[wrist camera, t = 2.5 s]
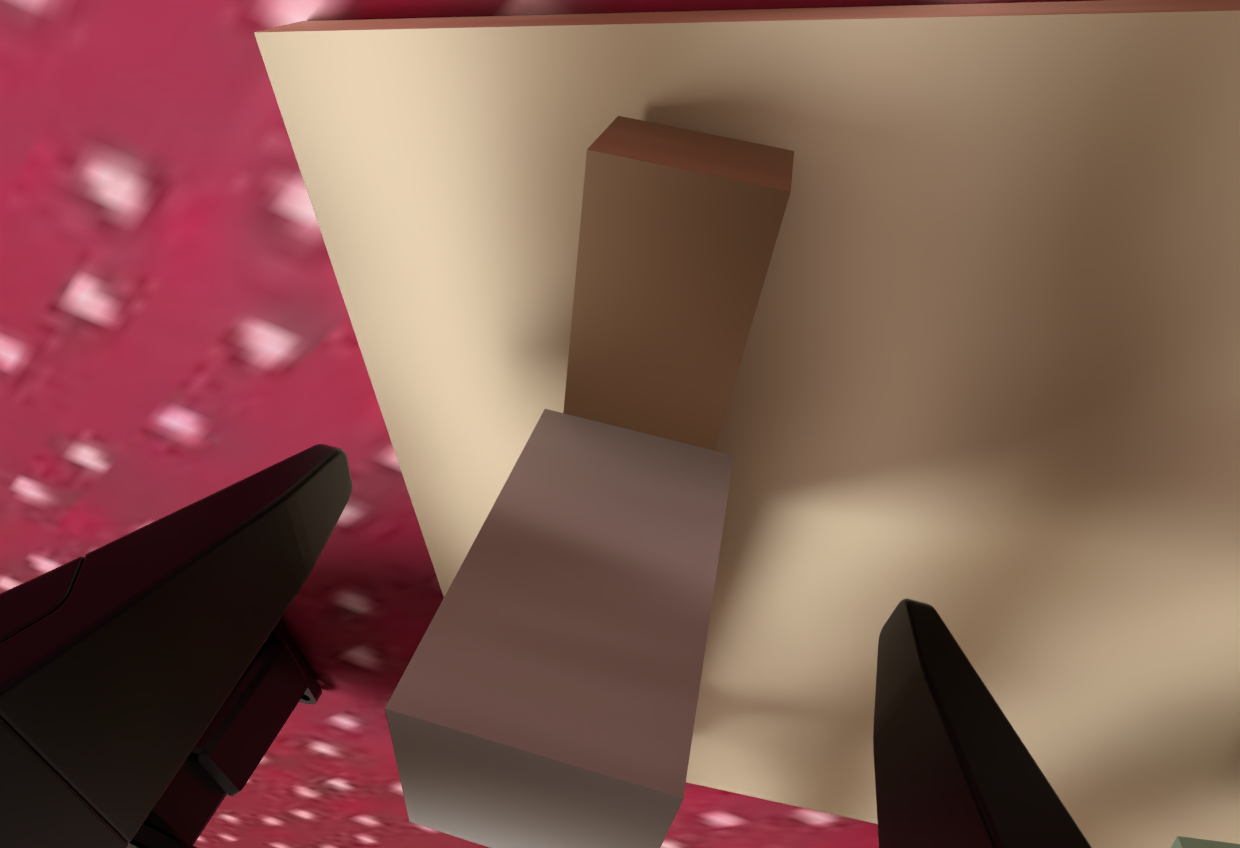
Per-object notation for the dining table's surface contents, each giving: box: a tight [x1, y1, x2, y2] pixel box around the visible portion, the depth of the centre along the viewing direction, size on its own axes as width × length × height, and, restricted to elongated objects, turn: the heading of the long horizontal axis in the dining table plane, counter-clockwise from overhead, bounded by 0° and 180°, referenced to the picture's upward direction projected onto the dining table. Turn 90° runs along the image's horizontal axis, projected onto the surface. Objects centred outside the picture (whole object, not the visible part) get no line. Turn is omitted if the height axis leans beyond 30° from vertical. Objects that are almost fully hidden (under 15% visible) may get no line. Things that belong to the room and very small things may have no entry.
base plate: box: [254, 0, 1240, 848], centre depth 14 cm, size 24×21×1 cm
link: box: [385, 116, 794, 848], centre depth 12 cm, size 18×4×7 cm, turn 173°
